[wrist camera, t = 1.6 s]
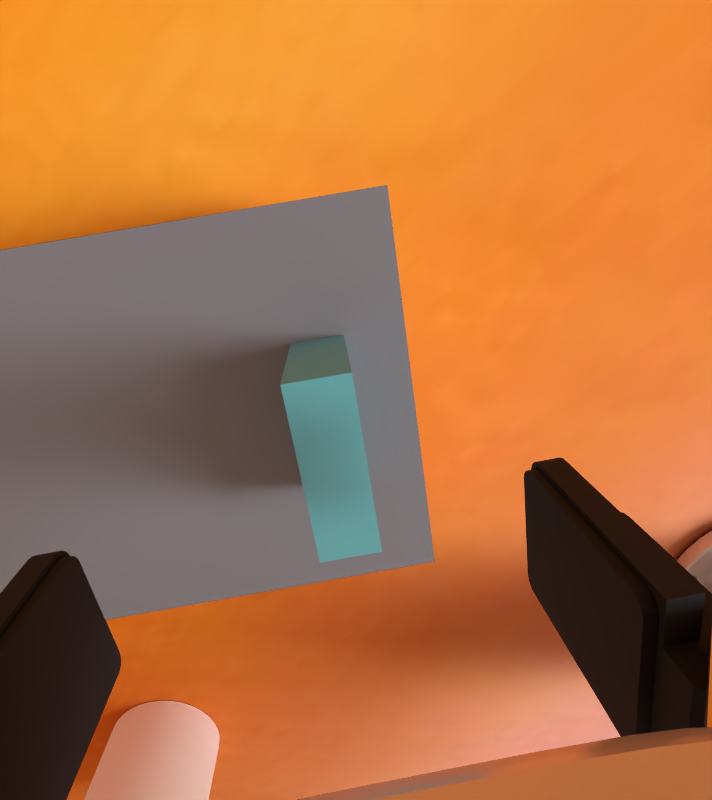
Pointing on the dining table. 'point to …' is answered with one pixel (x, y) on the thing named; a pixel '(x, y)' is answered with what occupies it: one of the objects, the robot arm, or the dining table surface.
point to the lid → (211, 405)
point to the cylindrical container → (158, 755)
